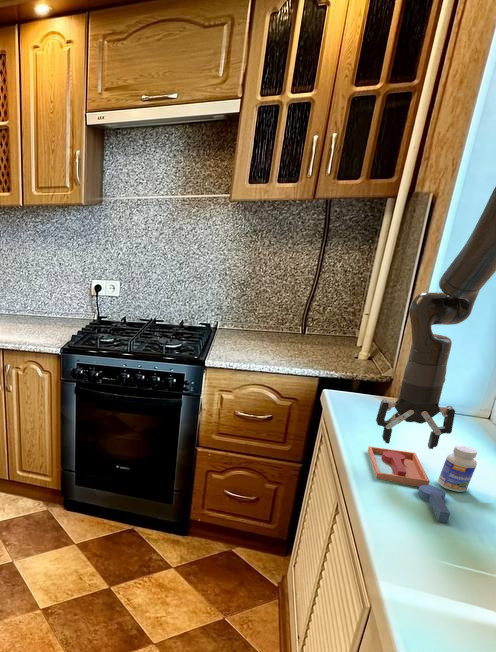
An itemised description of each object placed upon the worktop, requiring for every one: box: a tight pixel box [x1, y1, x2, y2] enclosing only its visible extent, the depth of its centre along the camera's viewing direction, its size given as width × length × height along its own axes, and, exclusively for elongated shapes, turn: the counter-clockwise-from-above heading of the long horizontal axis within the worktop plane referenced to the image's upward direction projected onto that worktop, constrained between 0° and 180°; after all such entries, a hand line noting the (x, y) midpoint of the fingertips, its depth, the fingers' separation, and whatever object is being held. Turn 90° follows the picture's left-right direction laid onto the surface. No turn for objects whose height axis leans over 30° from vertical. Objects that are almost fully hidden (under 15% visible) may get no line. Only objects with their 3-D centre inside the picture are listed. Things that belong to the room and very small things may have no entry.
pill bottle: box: [437, 445, 478, 493], centre depth 121 cm, size 5×5×10 cm
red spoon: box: [380, 451, 406, 476], centre depth 130 cm, size 13×5×2 cm, turn 154°
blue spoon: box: [417, 484, 451, 524], centre depth 114 cm, size 13×5×2 cm, turn 154°
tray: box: [367, 445, 430, 488], centre depth 130 cm, size 16×10×2 cm, turn 154°
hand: (408, 444), depth 126 cm, fingers open, 8 cm apart
